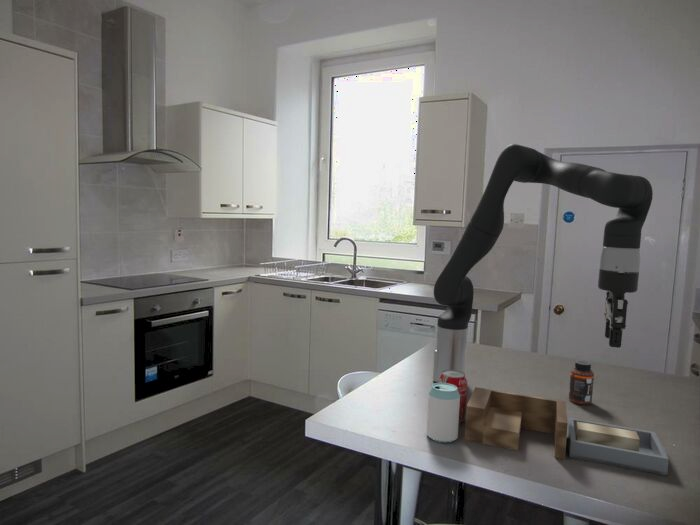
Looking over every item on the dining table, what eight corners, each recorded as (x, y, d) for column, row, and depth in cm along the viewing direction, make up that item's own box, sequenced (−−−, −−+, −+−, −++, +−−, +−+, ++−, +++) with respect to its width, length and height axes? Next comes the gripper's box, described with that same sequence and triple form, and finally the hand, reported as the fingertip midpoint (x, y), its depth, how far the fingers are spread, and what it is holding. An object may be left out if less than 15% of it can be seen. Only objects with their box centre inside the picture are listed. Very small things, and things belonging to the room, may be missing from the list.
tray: (569, 456, 106) (570, 441, 105) (567, 431, 119) (568, 417, 118) (667, 475, 99) (668, 459, 99) (653, 446, 112) (654, 432, 112)
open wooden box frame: (464, 439, 112) (466, 405, 111) (473, 417, 125) (475, 387, 124) (564, 459, 104) (567, 423, 104) (563, 433, 117) (565, 401, 116)
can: (442, 447, 108) (445, 394, 107) (420, 435, 114) (422, 384, 113) (464, 439, 112) (467, 388, 111) (441, 428, 118) (443, 379, 117)
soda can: (433, 414, 126) (435, 368, 125) (460, 414, 127) (462, 368, 126) (440, 425, 119) (443, 377, 118) (469, 425, 120) (472, 377, 119)
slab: (576, 446, 109) (578, 429, 109) (575, 438, 114) (576, 421, 113) (638, 457, 105) (639, 439, 105) (634, 448, 109) (636, 431, 109)
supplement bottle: (594, 406, 136) (597, 366, 135) (571, 404, 137) (574, 364, 136) (588, 399, 142) (591, 360, 141) (566, 396, 143) (569, 358, 142)
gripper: (596, 264, 114) (590, 333, 115) (602, 270, 101) (596, 347, 102) (633, 267, 111) (627, 337, 112) (645, 273, 98) (637, 352, 99)
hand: (612, 342), depth 107 cm, fingers open, 8 cm apart
